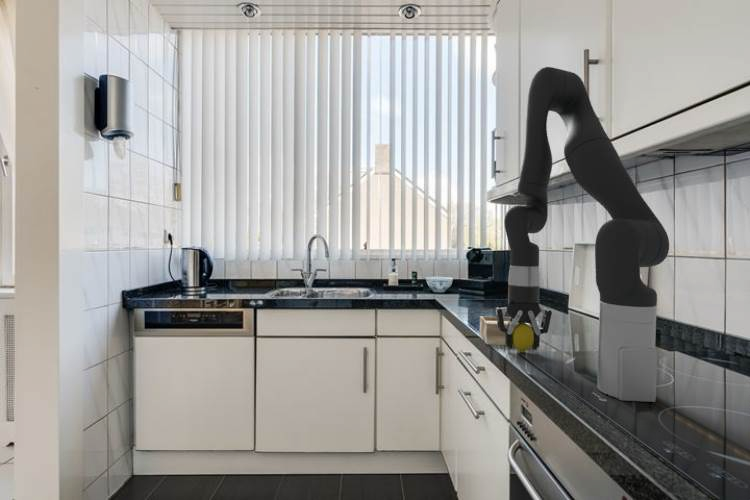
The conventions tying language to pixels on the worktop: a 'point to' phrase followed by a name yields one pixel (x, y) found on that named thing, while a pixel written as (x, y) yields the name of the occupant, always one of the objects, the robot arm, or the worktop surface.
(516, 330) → the lemon
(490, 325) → the wooden box
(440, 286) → the chinaware
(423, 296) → the worktop surface
